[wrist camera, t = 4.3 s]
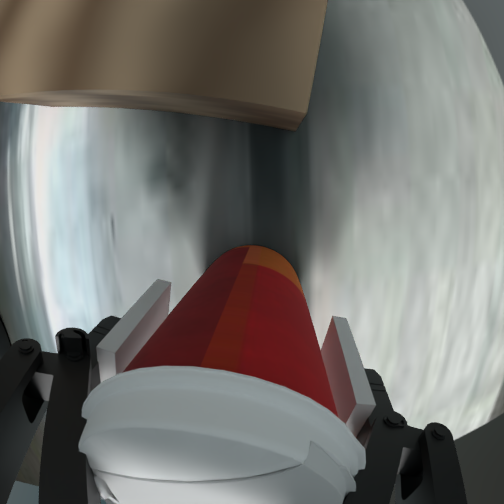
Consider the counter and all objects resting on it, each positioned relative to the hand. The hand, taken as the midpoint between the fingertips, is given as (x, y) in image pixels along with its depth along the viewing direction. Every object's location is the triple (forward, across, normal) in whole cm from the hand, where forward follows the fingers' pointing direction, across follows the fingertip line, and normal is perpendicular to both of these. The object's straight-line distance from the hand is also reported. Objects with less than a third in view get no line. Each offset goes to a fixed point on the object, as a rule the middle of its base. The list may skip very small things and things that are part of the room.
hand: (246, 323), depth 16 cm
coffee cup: (+5, 0, 0) cm, 5 cm away
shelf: (+4, -8, +20) cm, 22 cm away
